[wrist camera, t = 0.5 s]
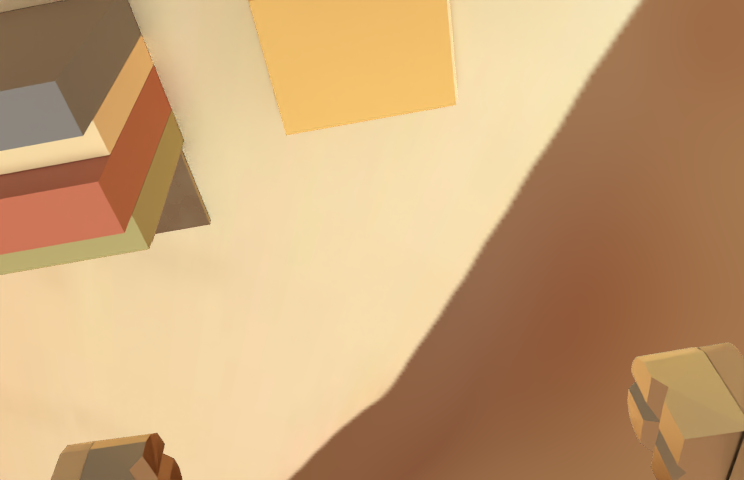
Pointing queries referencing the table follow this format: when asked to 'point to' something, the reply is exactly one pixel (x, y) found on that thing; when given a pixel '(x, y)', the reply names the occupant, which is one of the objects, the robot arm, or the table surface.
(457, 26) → the table surface
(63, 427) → the table surface
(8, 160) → the standing books
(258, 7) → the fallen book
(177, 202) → the bookend
